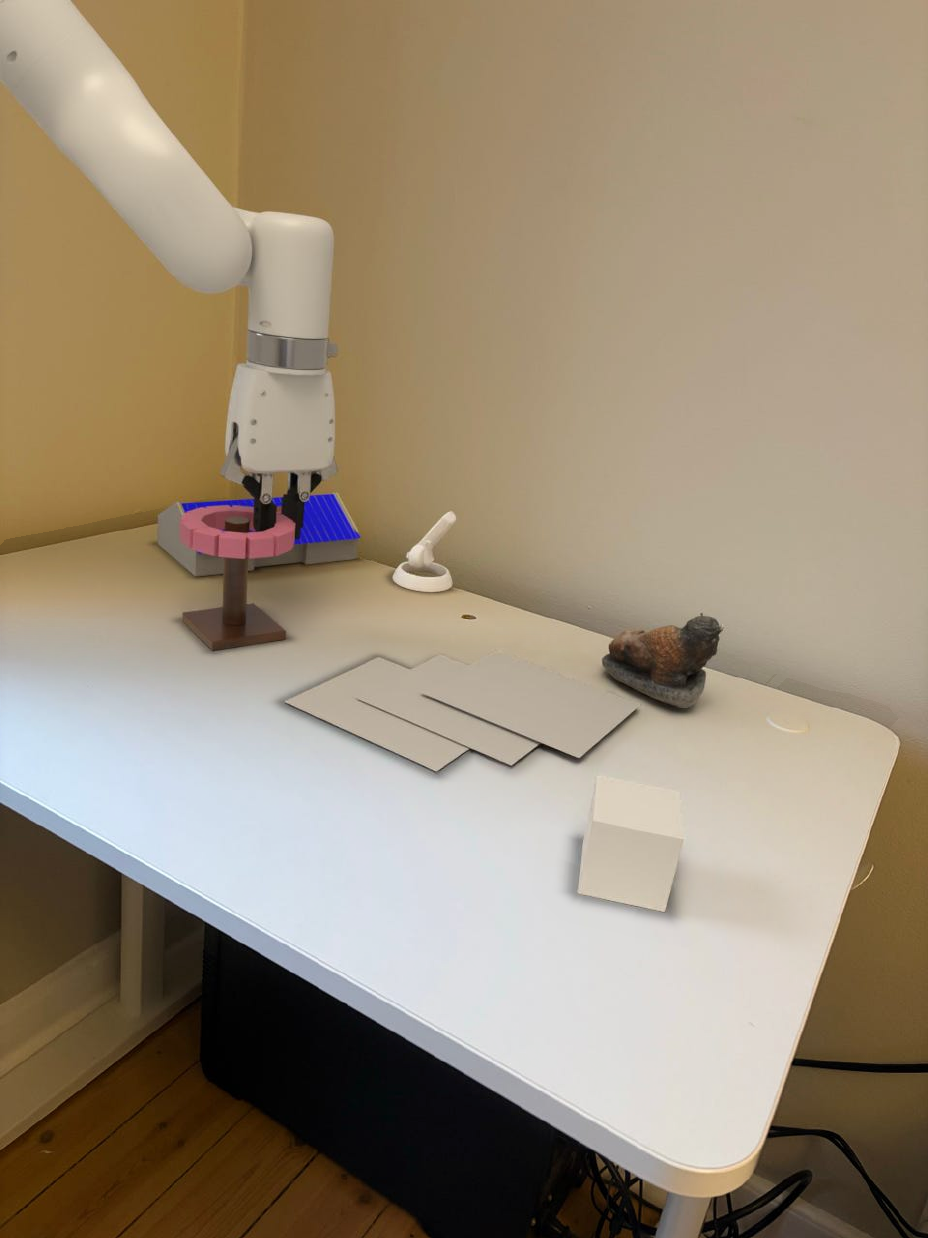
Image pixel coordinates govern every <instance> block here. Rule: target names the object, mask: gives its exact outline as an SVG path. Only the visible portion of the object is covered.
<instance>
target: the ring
mask: <svg viewBox="0 0 928 1238" xmlns="http://www.w3.org/2000/svg"><path fill="white" fill-rule="evenodd" d="M233 516H237V517H244V518H247V519H249V521H250V526H249V530H252V531H256V530H255V529H254V526H253V516H254V507H248V506H237V505H233V506H232V507H230V506H229V505H222V506H207V507H206V508H204V507H201V508H197V509H194V510H191V511H187V512H186V513H184V514H183V516H182V518H181V519H180V541H181V542H183V543H184V544H185V545H186V546H187V547H188V548H190V549H192V548H193V550H194V551H198V552H201V553H205V554H208V555H212V556H215V555H218V557H227V558H239V559H245V558H246V556H247V557H248V558H250V559H253V558H263V557H273V556H274V555H276V556H278V555H280V554H283V553H285V552H288V551H290V550H291V549H292V548H293V546H294V541H295V523H294V522H293V521H292V520H291V519H289V518H288V517H286V516H285V515H283V514H281V513H279V512H277V514H276V523H275V526H274V527H273V528H271V529H268V530H265V531H262V532H250V533H241V532H229V531H222V530H223V529H225V519H226V518H227V517H233Z"/></svg>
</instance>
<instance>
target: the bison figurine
mask: <svg viewBox="0 0 928 1238" xmlns="http://www.w3.org/2000/svg"><path fill="white" fill-rule="evenodd" d="M724 629H725V625H724V622H722V623H721V625H720V624H719V621H718V620H717V618H715V617H711V616H708V615H704V613H703V612H700V614H698V615H697V616H695V617H694V618H693V617H692V618H691V619H689V620H687V622H686V624H685V625H684V626H683V627H678V626H676V625H673V624H671V625H665V626H663V625H662V626H660V627H657V628H654V629H652V630H649V631H645V630H644V629H642V628H640V627H639V628H634V629H630V630H625V631H621V632H620V633H618V634H617V635H616V636H615V637H613V639H612V640H611V641H610V643H609V644H608V653H606V654H604V656H603V657H602V658H601V665H602V667H603V668H604V669H605V671H606V672H607V673H608V674H609V675H610V676H611V677H612V678H613V679H614V680H616V681H618V682H620V683H622V684H625V685H627V686H629V687H630V688H632V689H633V690H635V691H637V692H639V693H641V694H644V695H645V696H647V697H650V698H652V699H654V700H656V701H659V702H662V703H664V704H668V705H670V706H674V707H677V708H681V709H682V708H683V709H687V708H690V707H692V706H694V705H695V703H696V702H697V701H698V700H699V698H700V696H701V695H702V693H703V692H704V689H705V686H706V677H707V672H706V670H705V669H703V668H704V667H705V666H707V663H708V661H710V660H711V659H712V657H714V656H716V655H717V653H718V646H719V641H720V634H721V633H722V632H723V631H724Z"/></svg>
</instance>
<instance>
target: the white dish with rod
mask: <svg viewBox="0 0 928 1238" xmlns="http://www.w3.org/2000/svg"><path fill="white" fill-rule="evenodd" d="M456 521H457V516H456V514H455V513H454V512H453V511H451V510H450V511H448V512H446V513H445V514H443V515H442V516H441V517H440V519H438V520H437V521H436V523H435V524H434V525H433V526H432V527H431V529H429V531H428V532H427V533H426V534H425V535H424V536H423V538H422V539H421V540H420V541H419V542H418V543H416V544H415V545H414V546H413V547H412V548H411V549H410V551H407V553H406V555H405V557H406V559H407V560H408V561H404V562H401V563H400V564H399V565H398V566H397V567H396V569H395V570H394V573H393V575H392V581H393V583H395V584H396V585H398V586H400V587H403V588H405V589H408V590H411V591H415V592H416V591H417V592H422V593H437V592H444V591H447V590H449V589H451V588H452V587H453V584H454V583H453V578H452V576H451V572H450V570H449V569H448V568H447V567H446V566H444V565H442V564H440V563H437V562H434V561H435V558H434V552H433V549H434V547H435V546H436V545H437V544H438V543H439V541H441V539H442V538H443V537H444V536H445V535H446V533H447V532H449V530H450V529H451V528H452V527H453V526H454V525H455V524H456ZM410 572H419V573H420V572H421V573H429V574H433V575H437V576H421V575H416V574H413V573H410Z"/></svg>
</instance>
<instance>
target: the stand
mask: <svg viewBox="0 0 928 1238" xmlns="http://www.w3.org/2000/svg"><path fill="white" fill-rule="evenodd" d="M249 526H250V521H249V519H247V518H244V517H237V516H233V517H227V518H226V519H225V531H229V532H241V533H249ZM222 575H223V576H222V577H223V578H222V606H221V607H213V608H207V609H206V608H205V609H198V610H190V611H183V612H182V618H181V619H182V622H183V623H184V624H185V625H186V626H187V627H188V629H190V630H191V631H192V632H193V633H194V634H195V635H196V636H197V637H198V639H200V640H201V642H203V643H204V644H205V645H206V646H207V647H208V649H210V650H211V652H213V651H220V650H226V649H232V648H239V647H245V646H252V645H256V644H264V643H270V642H277V641H283V640H286V639H287V630H286V629H285V628H284V627H283V626H281V625H280V624H279V623H278V622H276V621H275V620H274V619H273V618H272V617H270V615H268V614H267V613H266V612H265V611H264V610H262V609H261V608H260V607H259V606H258V605H257V604H255V603H254V602H251V603H248V580H249V579H248V578H249V577H248V576H249V571H248V557H247V556H246V558H245V559H239V558H227V557H224V571H223V574H222Z"/></svg>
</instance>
